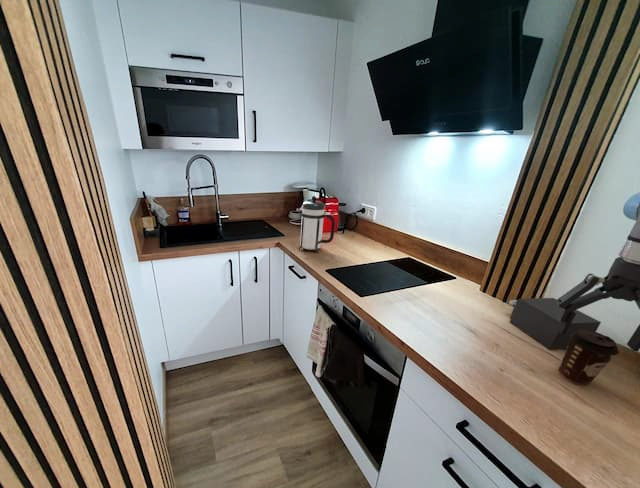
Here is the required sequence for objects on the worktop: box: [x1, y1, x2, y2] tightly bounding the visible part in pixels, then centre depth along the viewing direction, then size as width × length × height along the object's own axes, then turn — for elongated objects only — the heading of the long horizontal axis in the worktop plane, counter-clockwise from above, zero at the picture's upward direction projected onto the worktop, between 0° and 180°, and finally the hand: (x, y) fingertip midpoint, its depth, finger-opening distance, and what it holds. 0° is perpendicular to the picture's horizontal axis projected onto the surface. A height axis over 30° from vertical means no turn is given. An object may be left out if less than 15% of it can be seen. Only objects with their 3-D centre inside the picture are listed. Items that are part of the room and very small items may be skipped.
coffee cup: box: [557, 330, 620, 386], centre depth 74 cm, size 9×8×13 cm
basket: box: [508, 298, 520, 320], centre depth 95 cm, size 18×11×8 cm, turn 5°
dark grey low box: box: [509, 297, 602, 351], centre depth 92 cm, size 15×13×10 cm
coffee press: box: [298, 196, 336, 254], centre depth 159 cm, size 17×16×30 cm
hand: (594, 339), depth 71 cm, fingers open, 13 cm apart
